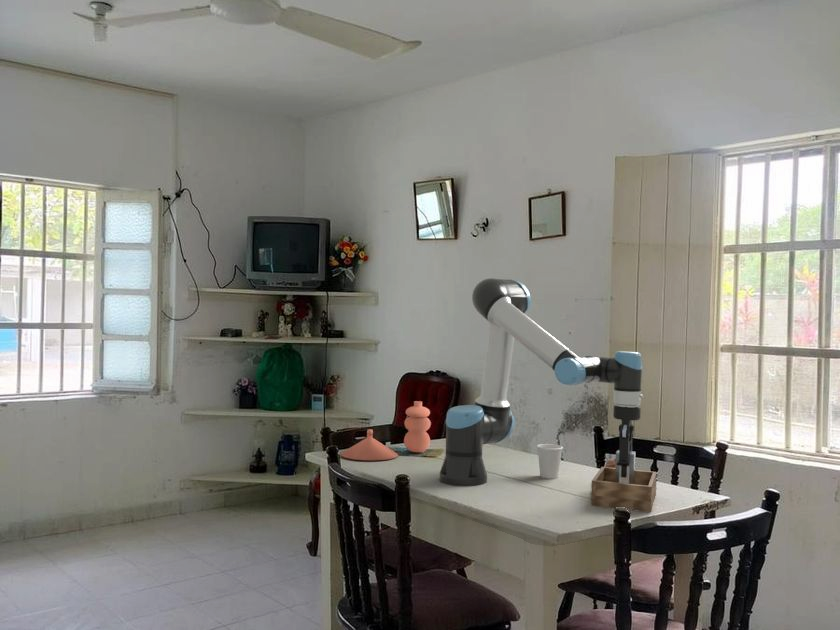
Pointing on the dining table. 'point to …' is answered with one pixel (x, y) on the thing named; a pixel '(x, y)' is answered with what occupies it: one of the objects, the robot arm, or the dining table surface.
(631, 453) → the peg
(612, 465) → the flower
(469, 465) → the robot arm
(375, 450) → the ceramic vessels
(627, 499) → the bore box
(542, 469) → the dixie cup
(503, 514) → the dining table surface
